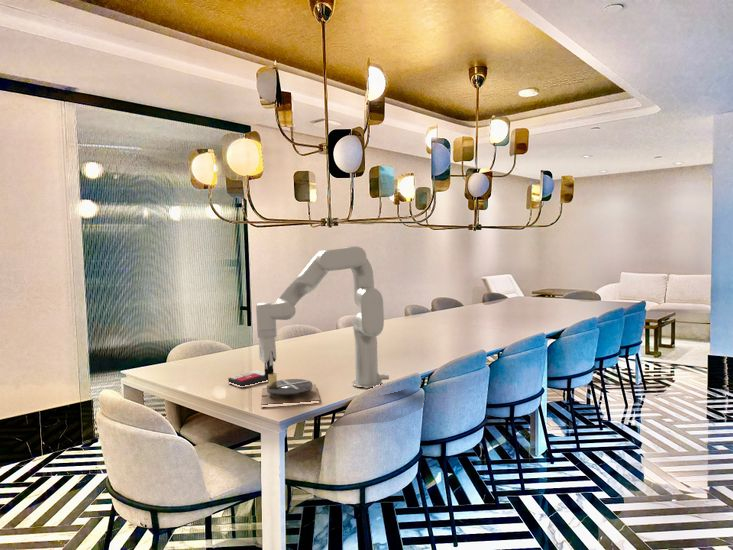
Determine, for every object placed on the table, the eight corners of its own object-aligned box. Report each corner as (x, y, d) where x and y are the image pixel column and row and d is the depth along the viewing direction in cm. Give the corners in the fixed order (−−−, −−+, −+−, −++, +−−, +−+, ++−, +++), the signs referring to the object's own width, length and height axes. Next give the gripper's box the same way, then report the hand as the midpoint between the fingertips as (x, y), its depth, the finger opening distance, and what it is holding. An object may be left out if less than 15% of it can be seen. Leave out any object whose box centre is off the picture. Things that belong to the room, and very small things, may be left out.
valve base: (315, 387, 215) (315, 383, 215) (320, 403, 193) (319, 398, 193) (262, 391, 211) (262, 387, 211) (261, 408, 190) (260, 403, 190)
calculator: (227, 376, 224) (256, 368, 235) (228, 386, 225) (257, 377, 235) (241, 380, 217) (270, 372, 227) (241, 390, 217) (271, 381, 228)
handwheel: (301, 384, 215) (301, 363, 214) (320, 394, 199) (319, 372, 198) (260, 391, 205) (259, 370, 205) (276, 402, 190) (275, 379, 189)
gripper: (253, 331, 208) (255, 375, 210) (262, 337, 195) (264, 384, 196) (271, 329, 212) (273, 372, 213) (281, 334, 198) (283, 381, 199)
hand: (269, 378), depth 204 cm, fingers closed
